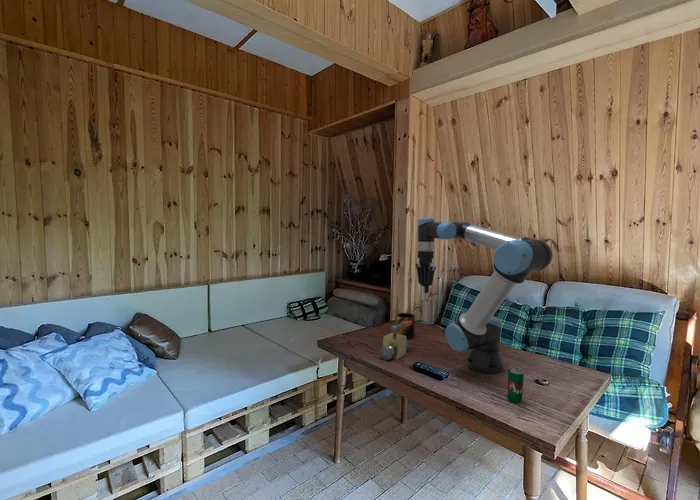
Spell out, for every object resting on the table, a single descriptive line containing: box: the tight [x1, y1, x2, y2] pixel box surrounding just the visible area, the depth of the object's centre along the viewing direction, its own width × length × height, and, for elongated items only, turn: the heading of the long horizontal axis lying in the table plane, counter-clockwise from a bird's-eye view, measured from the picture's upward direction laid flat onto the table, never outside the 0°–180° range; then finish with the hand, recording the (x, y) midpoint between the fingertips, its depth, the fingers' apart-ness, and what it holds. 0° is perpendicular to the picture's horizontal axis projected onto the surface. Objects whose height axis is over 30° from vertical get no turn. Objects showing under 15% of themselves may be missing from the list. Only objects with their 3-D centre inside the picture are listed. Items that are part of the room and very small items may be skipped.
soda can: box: [506, 365, 525, 404], centre depth 123 cm, size 5×5×12 cm
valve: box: [378, 332, 410, 361], centre depth 164 cm, size 17×8×9 cm, turn 142°
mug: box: [396, 312, 416, 341], centre depth 191 cm, size 10×14×12 cm
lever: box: [390, 320, 412, 336], centre depth 167 cm, size 14×4×5 cm, turn 135°
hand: (424, 299), depth 164 cm, fingers closed
